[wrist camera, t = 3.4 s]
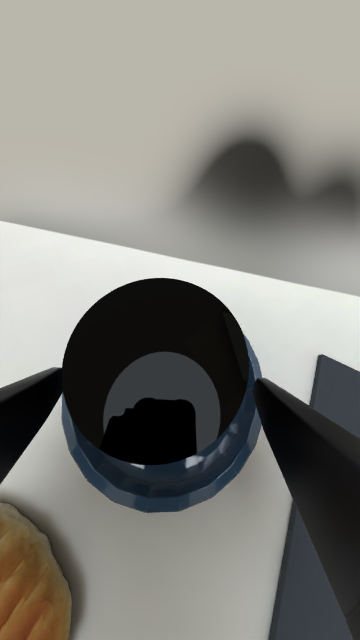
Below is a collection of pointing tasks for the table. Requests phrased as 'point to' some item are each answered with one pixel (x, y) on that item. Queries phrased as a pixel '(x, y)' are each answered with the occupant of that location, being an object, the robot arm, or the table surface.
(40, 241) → the table surface
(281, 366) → the table surface
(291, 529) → the placemat
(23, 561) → the pastry
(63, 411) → the bowl
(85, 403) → the supplement container
